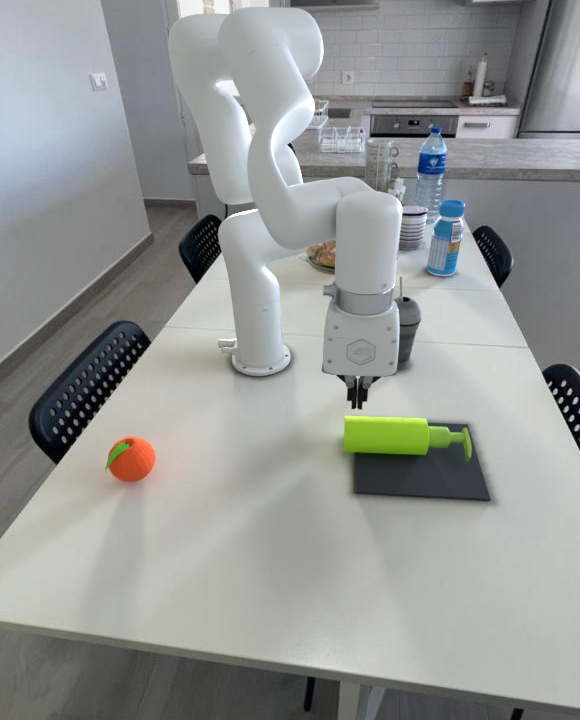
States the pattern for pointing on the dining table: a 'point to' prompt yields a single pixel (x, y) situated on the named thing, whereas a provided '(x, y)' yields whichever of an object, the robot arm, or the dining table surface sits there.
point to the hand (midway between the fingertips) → (356, 403)
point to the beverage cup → (406, 326)
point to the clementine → (131, 459)
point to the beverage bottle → (446, 238)
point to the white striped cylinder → (412, 227)
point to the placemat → (423, 472)
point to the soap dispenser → (399, 436)
